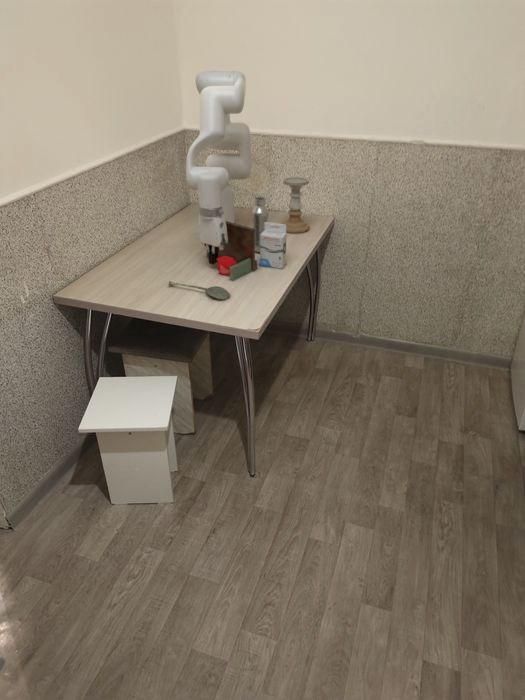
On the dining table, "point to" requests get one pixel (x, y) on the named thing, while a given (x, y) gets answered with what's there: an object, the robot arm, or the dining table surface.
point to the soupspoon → (209, 290)
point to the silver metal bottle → (259, 219)
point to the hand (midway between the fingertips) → (213, 262)
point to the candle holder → (295, 205)
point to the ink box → (273, 245)
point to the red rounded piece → (225, 264)
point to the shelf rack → (240, 249)
